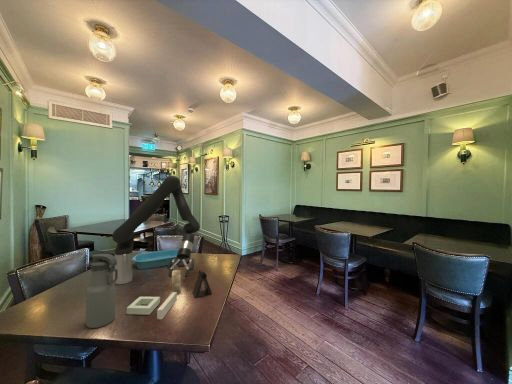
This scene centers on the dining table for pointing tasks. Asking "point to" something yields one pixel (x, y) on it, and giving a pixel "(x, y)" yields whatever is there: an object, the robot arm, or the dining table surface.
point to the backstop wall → (166, 305)
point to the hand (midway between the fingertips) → (177, 277)
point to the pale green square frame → (144, 310)
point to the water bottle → (101, 291)
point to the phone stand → (197, 287)
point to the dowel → (176, 281)
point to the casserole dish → (155, 258)
